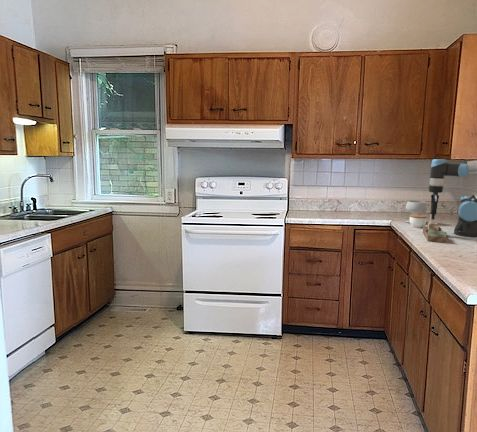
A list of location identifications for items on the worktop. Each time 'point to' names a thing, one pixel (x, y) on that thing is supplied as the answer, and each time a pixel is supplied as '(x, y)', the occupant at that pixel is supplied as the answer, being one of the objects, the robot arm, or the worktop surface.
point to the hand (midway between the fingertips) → (432, 224)
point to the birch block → (432, 226)
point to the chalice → (416, 207)
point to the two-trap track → (434, 235)
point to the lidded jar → (418, 220)
